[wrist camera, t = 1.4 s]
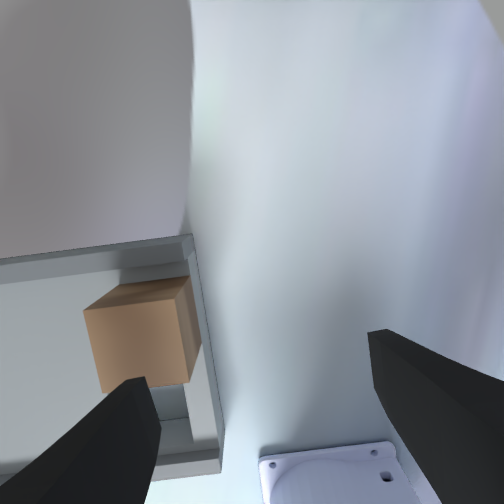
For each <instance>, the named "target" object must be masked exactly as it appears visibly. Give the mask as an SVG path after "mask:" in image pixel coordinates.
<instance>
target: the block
mask: <svg viewBox="0 0 504 504" xmlns="http://www.w3.org/2000/svg"><path fill="white" fill-rule="evenodd" d="M83 314H84V319H85V323H86V327H87V331H88V335H89V340H90V344H91V348H92V352H93V356H94V361H95V365H96V369H97V373H98V378H99V382H100V386H101V390H102V394H103V393H111V392H112V391H113V390H114V389H115V388H116V387H118V386H119V385H120V384H121V383H123V382H124V381H125V380H127V379H132V378H137V377H142V376H145V378H146V381H147V384H148V388H152V387H160V386H168V385H176V384H184V383H190V380H191V376H192V373H193V370H194V367H195V363H196V360H197V357H198V354H199V350H200V347H201V344H202V340H201V334H200V328H199V322H198V316H197V311H196V305H195V299H194V293H193V287H192V281H191V275H189V276H181V277H174V278H166V279H158V280H150V281H143V282H135V283H127V284H119V285H118V286H116V287H115V288H113V289H112V290H111V291H109V292H108V293H106V294H105V295H104V296H102V297H101V298H99V299H98V300H97V301H95V302H94V303H93V304H91V305H90V306H88V307H87V308H86V309H84V310H83Z"/></svg>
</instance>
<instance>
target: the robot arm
mask: <svg viewBox="0 0 504 504" xmlns="http://www.w3.org/2000/svg"><path fill="white" fill-rule="evenodd" d="M367 334H368V342H369V350H370V358H371V367H372V375H373V383H374V389H375V391H376V393H377V395H378V397H379V399H380V402H381V404H382V406H383V408H384V410H385V412H386V414H387V416H388V418H389V420H390V421H391V423H392V424H393V426H394V428H395V429H396V431H397V432H398V434H399V436H400V437H401V439H402V440H403V442H404V444H405V445H406V447H407V448H408V450H409V451H410V453H411V455H412V456H413V458H414V459H415V461H416V462H417V464H418V466H419V467H420V469H421V470H422V472H423V473H424V475H425V477H426V478H427V480H428V481H429V483H430V484H431V486H432V488H433V489H434V491H435V492H436V494H437V496H438V498H439V499H440V501H441V503H442V504H504V381H502V380H499V379H496V378H494V377H491V376H489V375H486V374H483V373H481V372H479V371H476V370H474V369H471V368H469V367H467V366H464V365H462V364H460V363H457V362H455V361H453V360H451V359H448V358H446V357H444V356H442V355H440V354H438V353H436V352H433V351H431V350H429V349H427V348H425V347H423V346H421V345H419V344H417V343H415V342H413V341H411V340H409V339H407V338H405V337H403V336H401V335H399V334H397V333H395V332H393V331H390V330H388V329H383V330H378V331H373V332H368V333H367ZM161 431H162V427H161V424H160V421H159V418H158V415H157V412H156V409H155V406H154V403H153V400H152V397H151V394H150V391H149V388H148V384H147V381H146V378H145V376H142V377H137V378H132V379H127V380H125V381H124V382H123V383H121V384H120V385H119V386H118V387H116V388H115V389H114V390H113V391H112V392H111V393H110V394H108V395H107V396H106V397H105V398H104V399H103V400H102V401H101V402H100V403H99V404H98V405H96V406H95V407H94V408H93V409H92V410H91V411H90V412H89V413H88V414H87V415H85V416H84V417H83V418H82V419H81V420H80V421H79V422H78V423H77V424H76V425H74V426H73V427H72V428H71V429H70V430H69V431H68V432H66V433H65V434H64V435H63V436H62V437H61V438H59V439H58V440H57V441H56V442H55V443H54V444H52V445H51V446H50V447H49V448H48V449H47V450H45V451H44V452H43V453H42V454H41V455H39V456H38V457H37V458H36V459H35V460H33V461H32V462H31V463H30V464H28V465H27V466H26V467H25V468H23V469H22V470H21V471H19V472H18V473H17V474H15V475H14V476H13V477H11V478H10V479H9V480H7V481H6V482H5V483H3V484H2V485H1V486H0V504H144V502H145V499H146V496H147V492H148V489H149V485H150V482H151V479H152V475H153V472H154V468H155V465H156V461H157V455H158V450H159V444H160V437H161ZM372 450H375V451H374V452H371V451H372ZM271 462H275V463H274V464H270V463H271ZM258 467H259V474H260V481H261V488H262V495H263V502H264V504H421V502H420V500H419V498H418V496H417V495H416V493H415V491H414V489H413V487H412V486H411V484H410V482H409V480H408V478H407V477H406V475H405V473H404V471H403V469H402V468H401V466H400V464H399V462H398V460H397V459H396V449H395V447H394V445H393V444H392V443H391V442H389V441H385V442H376V443H368V444H360V445H352V446H343V447H335V448H327V449H318V450H310V451H302V452H294V453H285V454H277V455H269V456H263V457H261V458H260V459H259V461H258Z"/></svg>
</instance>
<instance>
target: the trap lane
mask: <svg viewBox="0 0 504 504" xmlns="http://www.w3.org/2000/svg"><path fill="white" fill-rule="evenodd" d="M189 275H191V281H192V287H193V293H194V299H195V305H196V311H197V316H198V322H199V328H200V334H201V340H202V344H201V347H200V350H199V354H198V357H197V360H196V363H195V367H194V370H193V373H192V376H191V380H190V383H184V384H183V386H184V391H185V397H186V402H187V408H188V413H189V418H181V419H173V420H165V421H160V424H161V427H162V431H161V437H160V444H159V450H158V455H157V461H156V465H155V468H154V472H153V475H152V479H151V482H152V481H160V480H168V479H177V478H185V477H193V476H201V475H210V474H218V473H221V469H222V459H223V448H224V438H225V429H224V423H223V417H222V411H221V405H220V399H219V393H218V387H217V381H216V375H215V369H214V362H213V356H212V350H211V344H210V338H209V332H208V326H207V320H206V314H205V308H204V302H203V296H202V289H201V283H200V277H199V271H198V265H197V259H196V253H195V247H194V241H193V235H192V234H187V235H179V236H172V237H164V238H157V239H149V240H140V241H133V242H125V243H118V244H110V245H103V246H95V247H87V248H80V249H72V250H64V251H56V252H49V253H41V254H33V255H25V256H18V257H10V258H3V259H0V486H1V485H2V484H3V483H5V482H6V481H7V480H9V479H10V478H11V477H13V476H14V475H15V474H17V473H18V472H19V471H21V470H22V469H23V468H25V467H26V466H27V465H28V464H30V463H31V462H32V461H33V460H35V459H36V458H37V457H38V456H39V455H41V454H42V453H43V452H44V451H45V450H47V449H48V448H49V447H50V446H51V445H52V444H54V443H55V442H56V441H57V440H58V439H59V438H61V437H62V436H63V435H64V434H65V433H66V432H68V431H69V430H70V429H71V428H72V427H73V426H74V425H76V424H77V423H78V422H79V421H80V420H81V419H82V418H83V417H84V416H85V415H87V414H88V413H89V412H90V411H91V410H92V409H93V408H94V407H95V406H96V405H98V404H99V403H100V402H101V401H102V400H103V399H104V398H105V397H106V396H107V395H108V394H110V393H103V394H102V390H101V386H100V382H99V378H98V373H97V369H96V365H95V361H94V356H93V352H92V348H91V344H90V340H89V335H88V331H87V327H86V323H85V319H84V314H83V310H84V309H86V308H87V307H88V306H90V305H91V304H93V303H94V302H95V301H97V300H98V299H99V298H101V297H102V296H104V295H105V294H106V293H108V292H109V291H111V290H112V289H113V288H115V287H116V286H118V285H119V284H127V283H135V282H143V281H150V280H158V279H166V278H174V277H181V276H189Z"/></svg>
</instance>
